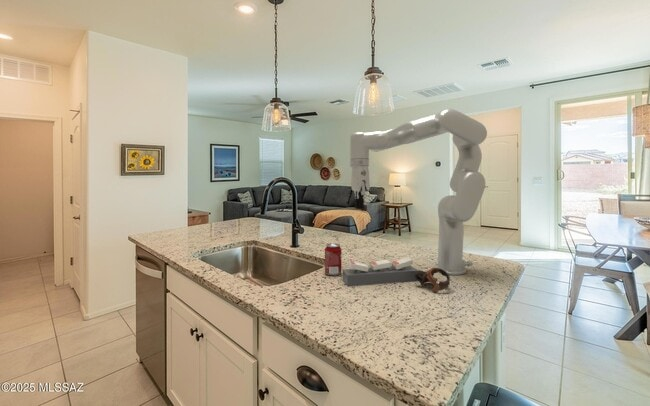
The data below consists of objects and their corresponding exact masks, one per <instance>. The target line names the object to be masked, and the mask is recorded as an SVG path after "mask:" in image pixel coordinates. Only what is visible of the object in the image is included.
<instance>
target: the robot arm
mask: <svg viewBox="0 0 650 406" xmlns="http://www.w3.org/2000/svg"><path fill="white" fill-rule="evenodd" d="M447 133H449V134H451V135H452V141H453V144H454V146H455V147H456V148H457V152H458V158H457V159H458V160H457V162H456V164H455V167H454V170H453V173H452V174H451V175H452V176H451V177H450V180H449V187H450V189H451V191H453V192H454V193H455V195H446V196H444V197H442V198H441V199H440V200H439V202H438V205H437V215H438V247H437V248H438V249H437V263H436V264H434V265H433V268H440V269H442V270H444V271H446V272H447V273H448V275H449V276H456V275H457V276H459V275H464V274H466V273H467V269H466V268H465V267H468V266H469V267H470V266H473V264H474V263H473V261H472V260H468V261H467V260H465V259H464V260H463V256H464V255H463V253H464V249H463V248H464V233H465V232H464V231H465V229H464V227H465V226H464V223H465V222H468V221H470V220H471V219H473V217H474V215H475V214H476V212H477V210H478V207H479V205H480V203H481V200H482V197H483V195H484V191H485V189H486V179H485V177H484V174H483V173H481V172H480V171H479V170H480V167H481V163H482V160H483V159H482V158H483V157H482V154H483V153H482V151H481V150H482V149H481V148H480V144H482V143H484V142H485V140H486V138H487V136H488V131H487V128H486V126H485V125H484V124H483V123H481V122H479V121H478V120H476V119H474V118H473V117H470V116H468V115H466V114H464V113H462V112H461V111H459V110H456V109H453V108H446V109H443V110H441V111H439V112H437V113H434V114H430V115H427V116H423V117H421V118H415V119H412V120H410V121H407V122H404V123H403V124H400V125H399V126H396V127H394V128H392V129H388V130H385V131H382V130H377V131H372V132H371V131H370V132H364V131H358V132H357V131H356V132H353V133H351V134H350V137H349V139H350V142H349V143H350V145H349V146H350V150H349V151H350V152H349V153H350V154H349V155H350V157H349V160H350V164H349V167H350V168H351V177H350V178H351V185H350V187H351V190H352V191H353V194H354V209H355V210H362V209H365V200H364V199H365V195H366V192H369V191H370V190H371V188H370V171H369V167H370V151H371V152H375V153H377V152H381V151H385V150H388V149H391V148H395V147H398V146H402V145H408V144H412V143H416V142H419V141H423V140H426V139H428V138H434V137H437V136H441V135H443V134H447ZM439 273H440V274H442V273H441V272H439Z"/></svg>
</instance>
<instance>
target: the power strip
mask: <svg viewBox="0 0 650 406" xmlns="http://www.w3.org/2000/svg"><path fill="white" fill-rule="evenodd" d="M418 270H419V269H417V268H416V267H415V266H412V265H409V266H406V267H403V268H400V269H398V270H396V269H395V268H393V267H392V265H391V267H388V268H383V269H377V270H373V269H372V268H371V267H369V269H368V272H366V271H361V270H356V269H351V268H344V269H342V281H343V282H344V283H345V285H346V287H354V286H365V285H368V286H369V285H379V284H380V285H381V284H392V283H406V282H418V281H417V280H416V278H415V276H414V273H415V272H416V271H418ZM418 276H419V277H420V278H421V276H420V275H418Z"/></svg>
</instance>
